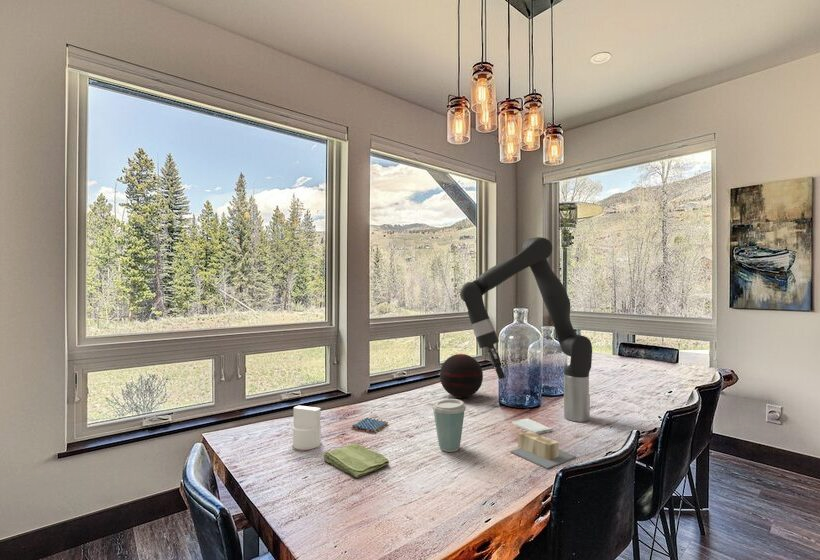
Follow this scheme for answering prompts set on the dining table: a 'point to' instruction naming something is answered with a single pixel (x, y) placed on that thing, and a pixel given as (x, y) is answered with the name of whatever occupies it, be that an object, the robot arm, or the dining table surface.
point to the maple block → (538, 445)
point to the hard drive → (531, 426)
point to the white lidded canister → (306, 427)
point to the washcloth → (355, 459)
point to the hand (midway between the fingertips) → (502, 378)
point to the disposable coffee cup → (449, 423)
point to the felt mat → (542, 461)
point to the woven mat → (370, 425)
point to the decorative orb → (461, 375)
